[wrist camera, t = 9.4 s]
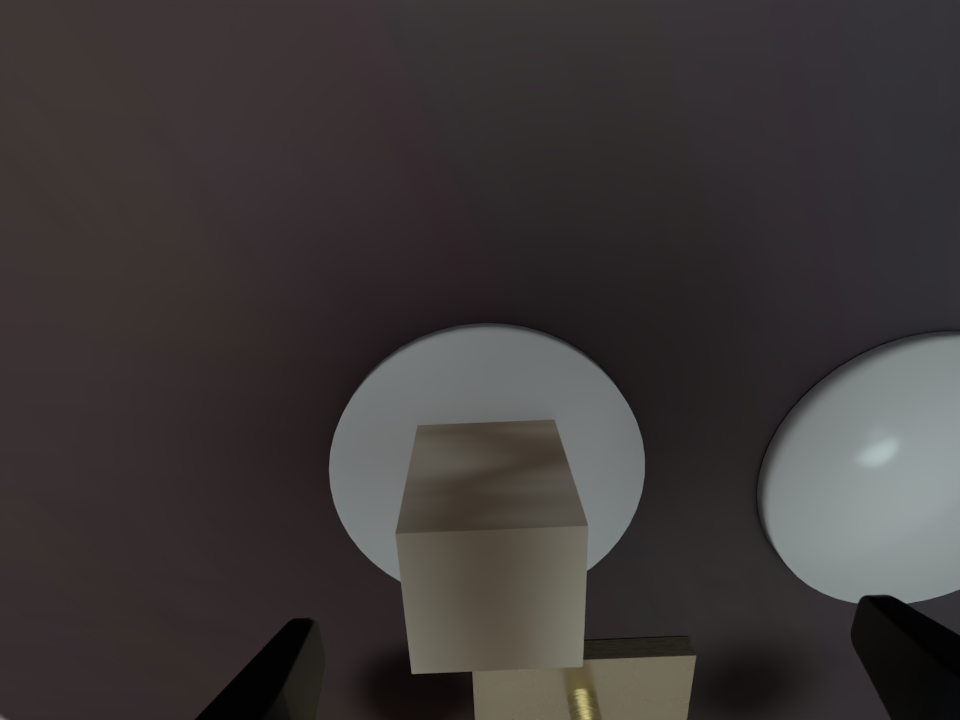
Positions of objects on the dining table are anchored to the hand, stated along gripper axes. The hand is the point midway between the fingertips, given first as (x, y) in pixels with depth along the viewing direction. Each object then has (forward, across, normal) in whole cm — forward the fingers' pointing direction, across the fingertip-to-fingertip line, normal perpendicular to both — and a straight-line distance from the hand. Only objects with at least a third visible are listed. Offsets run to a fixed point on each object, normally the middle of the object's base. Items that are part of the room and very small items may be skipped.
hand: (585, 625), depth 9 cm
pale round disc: (+12, +2, +4) cm, 12 cm away
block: (+10, +2, +4) cm, 11 cm away
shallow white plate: (+12, -15, +6) cm, 20 cm away
